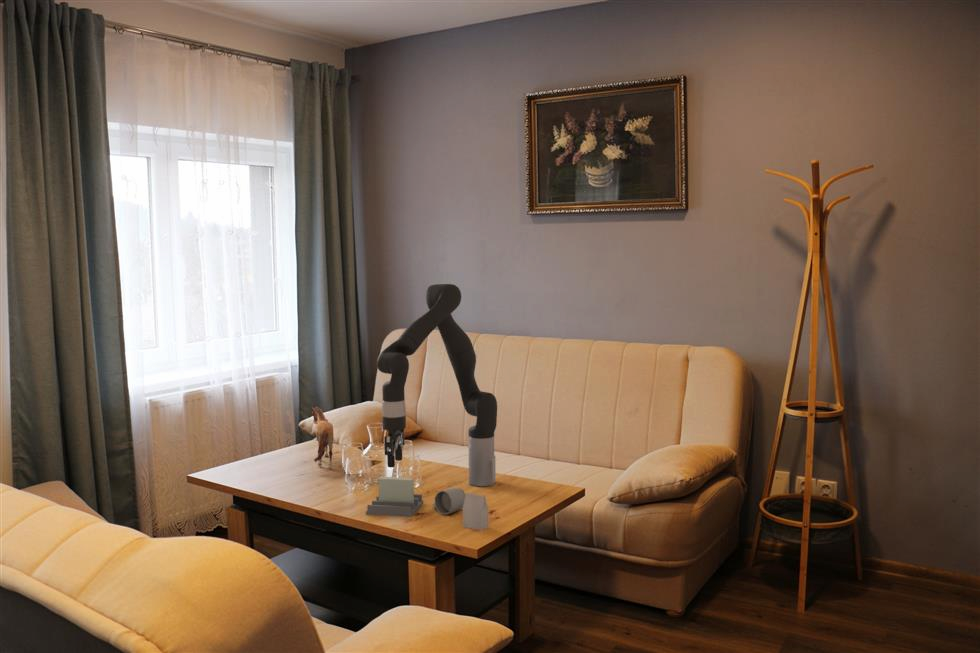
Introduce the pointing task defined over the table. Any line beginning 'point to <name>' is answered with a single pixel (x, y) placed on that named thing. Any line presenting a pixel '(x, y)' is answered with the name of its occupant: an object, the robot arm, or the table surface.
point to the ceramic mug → (449, 500)
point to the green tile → (396, 489)
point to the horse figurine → (323, 435)
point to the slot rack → (395, 507)
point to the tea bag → (475, 512)
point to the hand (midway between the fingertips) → (395, 463)
